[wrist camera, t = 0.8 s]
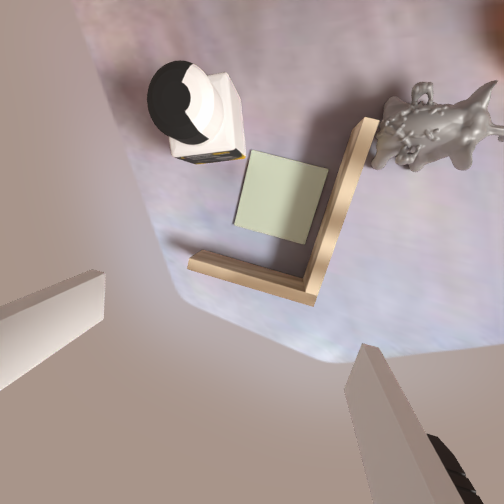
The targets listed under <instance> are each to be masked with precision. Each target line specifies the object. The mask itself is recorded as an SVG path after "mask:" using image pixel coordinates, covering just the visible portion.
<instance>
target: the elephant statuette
mask: <svg viewBox="0 0 504 504" xmlns="http://www.w3.org/2000/svg"><path fill="white" fill-rule="evenodd" d="M497 82H498V81H497V80H494V81H491V82H488V83H486V84H484V85H483V86H481V87H480V88H479V89H478V90H476V91H475V92H474V93H473V94H472V95H471V96H470V97H469V98H468V99H467V100H464V101H460V102H458V103H456V104H454V105H451V104H444V105H442V104H437V103H435V102H433V83H431V82H428V83H427V82H419V83H417V84H415V85H414V87H413V88H412V93H411V96H412V103H411V104H409V103H405V102H403V101H402V100H400V99H399V98H398V97H396V96H393V97H391V98H389V99H388V100H387V102H386V103H385V105H384V108H383V109H384V113H383V119H382V121H381V122H380V123H379V124H378V127H379V128H380V131H379V132H378V133H377V134H376V138H377V140H378V142H377V145H376V149H377V152H376V155H375V158H374V159H373V160H372V163H371V165H372V167H373V168H374V169H375V170H380V169H382V168H384V167H385V165H386V163H387V161H388V160H389V159H390V158H392V157H394V156H396V155H397V156H396V159H395V162H396V164H398V165H405V164H409V168H410V170H411V171H413V172H418V171H420V170H421V169H422V168H423V167H424V166H425V165H426V164H428V163H432V162H435V161H437V160H439V159H442V158H445V157H448V156H449V157H450V159H451V161H452V163H453V165H454V167H455V168H456V169H458V170H467V169H469V168H470V167H471V165H472V152H473V151H474V149H475V146H476V145H477V144H478V143H479V142H480V141H481V140H483V139H484V138H485V137H487V136H489V135H499V137H498V140H499V141H500V142H503V141H504V126H499V125H495V124H493V123H492V122H491V117H490V114H489V112H488V110H487V107H488V104H489V101H490V98H491V91H492V89H493V87H494V86H495V84H496V83H497ZM425 93H426V94H427V95H428V98H429V100H428V103H427V104H426V105H423V101H420V102H419V104H417V100H418V99H419V98H420V97H421V96H422V95H423V94H425ZM408 152H411V153H412V154H407V153H408Z"/></svg>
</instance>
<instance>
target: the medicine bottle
mask: <svg viewBox="0 0 504 504" xmlns="http://www.w3.org/2000/svg"><path fill="white" fill-rule="evenodd" d="M147 103H148V110H149V113H150V116H151V118H152V120H153V122H154V124H155V125H156V126H157V128H158V129H159V130H160V131H161V132H163V133H164V134H165V135H167V136H169V143H170V149H171V155H172V156H173V157H175V158H178V159H181V160H184V161H187V162H190V163H193V164H204V163H213V162H221V161H229V160H237V159H244V158H245V157H246V148H245V138H244V127H243V116H242V105H241V99H240V97H239V95H238V93H237V91H236V89H235V87H234V85H233V83H232V81H231V79H230V77H229V75H228V74H227V73H226V72H223V73H218V74H212V75H206V74H205V73H204V72H203V71H202V70H201V69H200V68H199V67H198V66H196V65H195V64H193V63H190V62H187V61H173V62H170V63H168V64H166V65H164V66H163V67H161V68H160V69H159V70H158V71H157V72H156V74H155V75H154V77H153V78H152V80H151V83H150V85H149V89H148V94H147Z"/></svg>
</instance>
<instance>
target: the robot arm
mask: <svg viewBox="0 0 504 504" xmlns="http://www.w3.org/2000/svg"><path fill="white" fill-rule="evenodd" d="M105 275H106V273H104V272H100V271H97V270H93V269H92V270H89V271H87V272H85V273H82V274H79V275H77V276H74V277H72V278H69V279H67V280H64V281H62V282H60V283H57V284H55V285H52V286H50V287H47V288H45V289H42V290H40V291H37V292H35V293H32V294H30V295H27V296H25V297H23V298H20V299H17V300H15V301H12V302H10V303H7V304H5V305H3V306H0V390H2V389H3V388H5V387H6V386H7V385H9V384H10V383H12V382H13V381H15V380H16V379H18V378H19V377H21V376H22V375H23V374H25V373H26V372H28V371H29V370H31V369H32V368H33V367H35V366H37V365H38V364H39V363H41V362H42V361H44V360H45V359H47V358H48V357H49V356H51V355H52V354H54V353H55V352H57V351H58V350H60V349H61V348H62V347H64V346H65V345H67V344H68V343H70V342H71V341H73V340H74V339H75V338H77V337H78V336H80V335H81V334H83V333H84V332H86V331H87V330H88V329H90V328H91V327H93V326H94V325H96V324H97V323H99V322H100V321H101V320H103V319H104V298H105V297H104V296H105ZM344 392H345V395H346V400H347V404H348V408H349V412H350V415H351V419H352V423H353V427H354V431H355V435H356V438H357V442H358V446H359V450H360V454H361V458H362V462H363V465H364V469H365V473H366V477H367V480H368V485H369V488H370V492H371V496H372V500H373V504H483V502H482V500H481V499H480V497H479V496H477V495H476V490H475V489H474V487H473V486H472V484H471V482H470V481H469V479H468V478H466V474H465V472H464V471H463V469H462V467H461V466H460V464H459V463H458V461H457V459H456V458H455V456H454V455H453V454H452V452H451V451H450V450H449V449H448V448H447V447H446V446H445V445H444V443H443V442H442V441H441V440H440V439H439V438H438V437H436V436H433V435H430V434H426V433H425V431H424V429H423V427H422V425H421V424H420V422H419V420H418V418H417V416H416V414H415V413H414V411H413V409H412V407H411V405H410V403H409V402H408V400H407V398H406V396H405V394H404V393H403V391H402V389H401V387H400V386H399V383H398V382H397V380H396V378H395V376H394V374H393V373H392V371H391V369H390V367H389V365H388V363H387V362H386V360H385V358H384V356H383V354H382V352H381V351H380V349H379V348H378V347H374V346H371V345H367V344H363V343H362V345H361V348H360V350H359V353H358V355H357V358H356V360H355V363H354V365H353V368H352V370H351V373H350V375H349V378H348V380H347V383H346V385H345V388H344Z"/></svg>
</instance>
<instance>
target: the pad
mask: <svg viewBox="0 0 504 504" xmlns="http://www.w3.org/2000/svg"><path fill="white" fill-rule="evenodd" d="M328 170H329V169H326V168H322V167H318V166H314V165H310V164H306V163H302V162H298V161H294V160H290V159H286V158H282V157H278V156H274V155H270V154H266V153H262V152H258V151H254V150H252V152H251V156H250V160H249V164H248V169H247V173H246V177H245V181H244V185H243V190H242V194H241V198H240V202H239V207H238V211H237V215H236V219H235V224H234V225H235V226H239V227H242V228H246V229H249V230H253V231H257V232H260V233H264V234H267V235H271V236H275V237H278V238H282V239H285V240H289V241H292V242H296V243H300V244H303V245H305V242H306V239H307V236H308V233H309V230H310V226H311V223H312V220H313V217H314V214H315V211H316V208H317V205H318V201H319V198H320V195H321V192H322V189H323V186H324V183H325V180H326V176H327V173H328Z"/></svg>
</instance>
